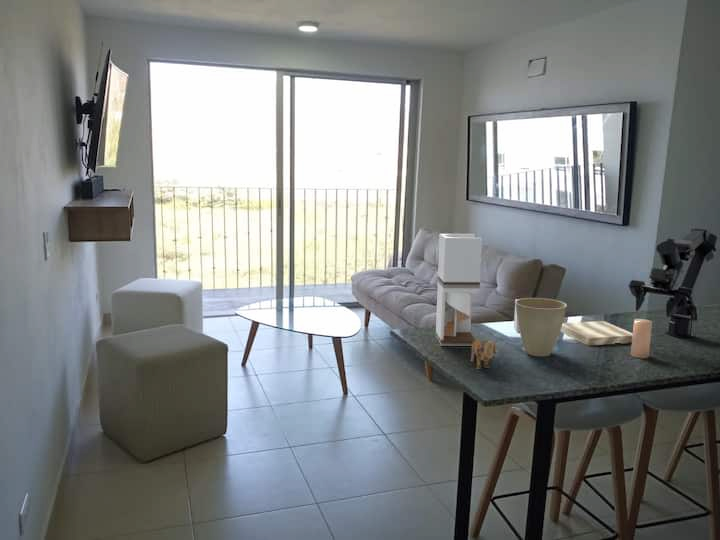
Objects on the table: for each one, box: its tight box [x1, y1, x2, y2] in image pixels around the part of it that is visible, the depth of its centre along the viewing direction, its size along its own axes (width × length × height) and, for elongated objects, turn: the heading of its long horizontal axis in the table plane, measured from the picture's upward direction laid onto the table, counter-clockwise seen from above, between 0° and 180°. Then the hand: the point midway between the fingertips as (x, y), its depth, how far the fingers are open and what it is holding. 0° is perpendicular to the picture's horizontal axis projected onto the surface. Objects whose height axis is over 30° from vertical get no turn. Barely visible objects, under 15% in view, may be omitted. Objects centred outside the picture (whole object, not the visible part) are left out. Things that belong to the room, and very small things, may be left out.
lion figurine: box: [468, 339, 500, 370], centre depth 168 cm, size 15×5×9 cm, turn 14°
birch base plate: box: [560, 320, 633, 346], centre depth 198 cm, size 18×18×2 cm
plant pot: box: [516, 297, 567, 358], centre depth 178 cm, size 15×15×16 cm
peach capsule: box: [630, 318, 653, 359], centre depth 177 cm, size 5×5×11 cm
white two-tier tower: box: [435, 233, 483, 347], centre depth 187 cm, size 11×11×35 cm
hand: (651, 313), depth 180 cm, fingers open, 9 cm apart
